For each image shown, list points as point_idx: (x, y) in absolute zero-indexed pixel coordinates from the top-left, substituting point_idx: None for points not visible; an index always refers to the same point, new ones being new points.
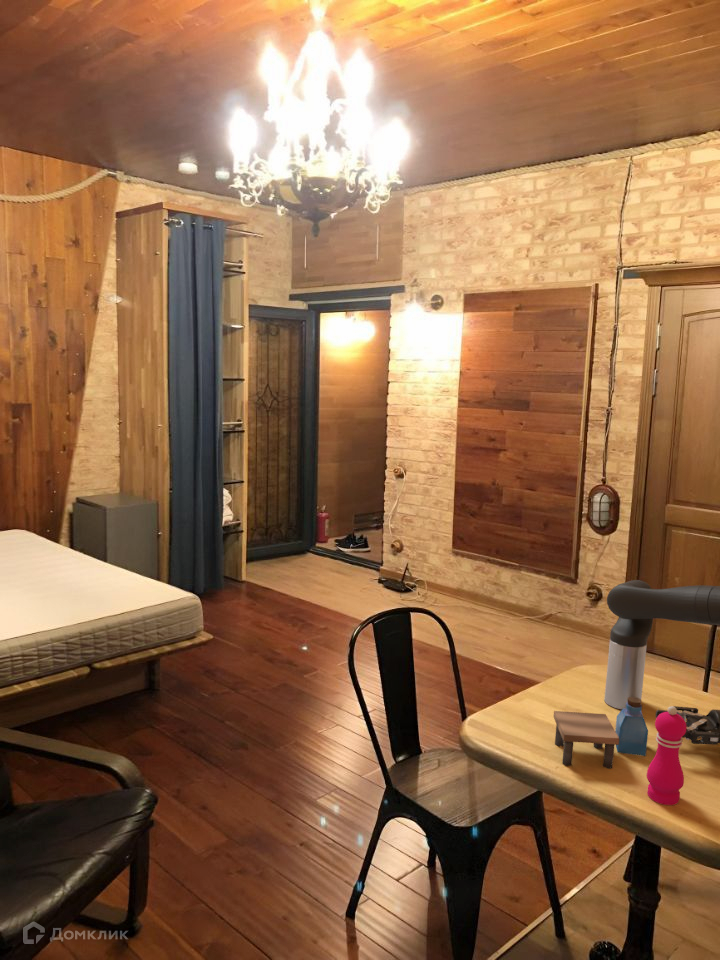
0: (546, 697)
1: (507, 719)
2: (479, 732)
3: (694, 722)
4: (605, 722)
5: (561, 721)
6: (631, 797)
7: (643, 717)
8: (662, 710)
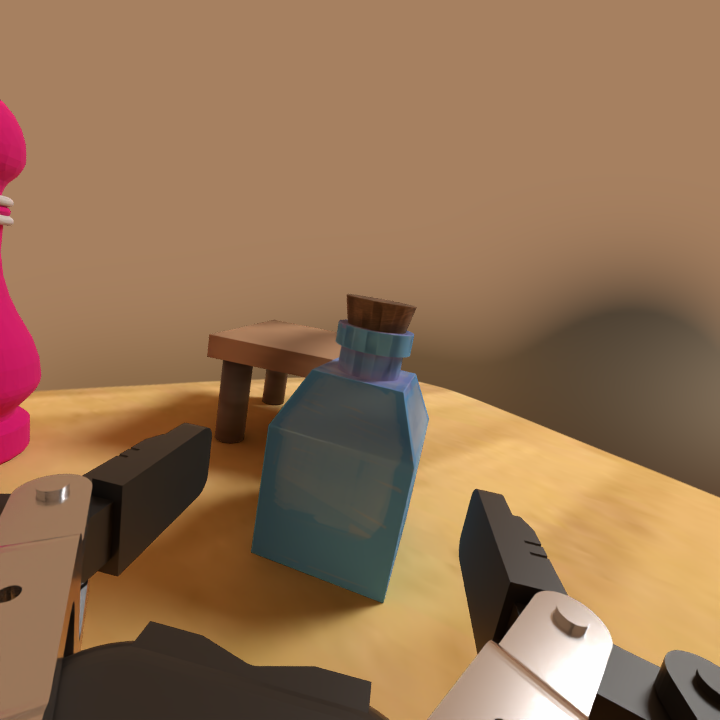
0: (671, 495)
1: (469, 411)
2: None
3: (141, 683)
4: (325, 354)
5: None
6: (52, 409)
7: (411, 452)
8: (505, 514)
